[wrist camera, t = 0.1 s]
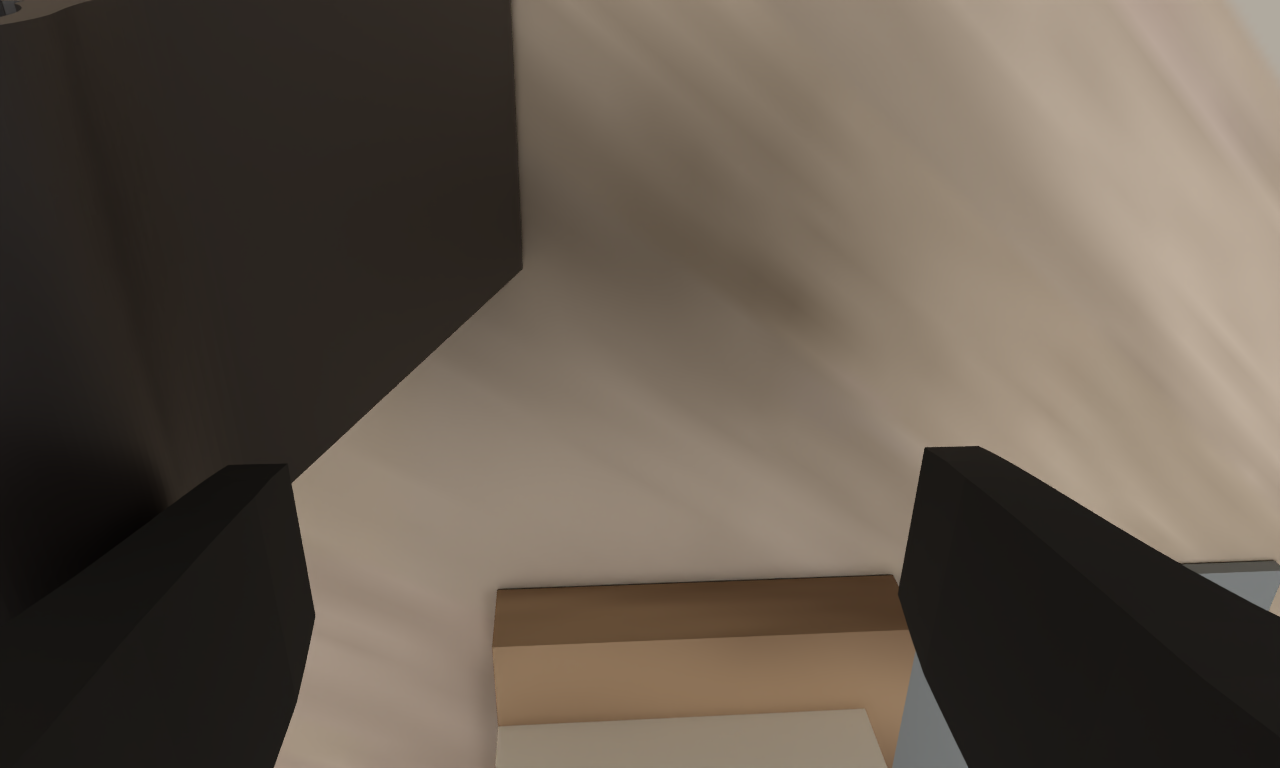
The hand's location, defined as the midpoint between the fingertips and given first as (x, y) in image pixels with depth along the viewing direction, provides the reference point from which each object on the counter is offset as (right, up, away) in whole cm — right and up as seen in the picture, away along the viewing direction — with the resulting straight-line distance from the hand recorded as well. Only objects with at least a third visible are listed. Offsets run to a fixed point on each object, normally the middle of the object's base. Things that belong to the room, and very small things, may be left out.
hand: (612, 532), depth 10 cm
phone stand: (-7, +7, +7) cm, 12 cm away
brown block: (+2, -8, +16) cm, 18 cm away
